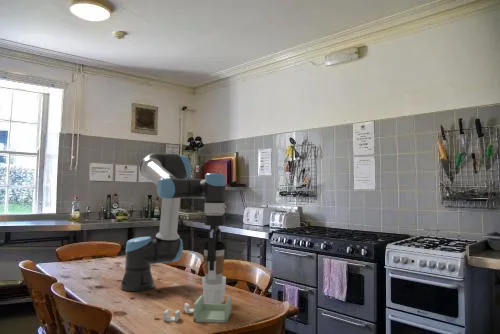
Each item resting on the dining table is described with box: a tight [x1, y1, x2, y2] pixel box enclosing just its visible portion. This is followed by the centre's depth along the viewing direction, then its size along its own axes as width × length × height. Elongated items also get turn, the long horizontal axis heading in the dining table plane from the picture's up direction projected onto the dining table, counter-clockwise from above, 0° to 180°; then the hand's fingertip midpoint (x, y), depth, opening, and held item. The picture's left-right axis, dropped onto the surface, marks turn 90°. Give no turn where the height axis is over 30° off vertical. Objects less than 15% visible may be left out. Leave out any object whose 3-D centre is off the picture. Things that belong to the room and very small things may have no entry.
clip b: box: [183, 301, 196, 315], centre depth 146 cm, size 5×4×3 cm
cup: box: [201, 275, 227, 304], centre depth 159 cm, size 10×10×10 cm
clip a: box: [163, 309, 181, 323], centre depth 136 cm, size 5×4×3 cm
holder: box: [192, 294, 233, 324], centre depth 140 cm, size 12×12×6 cm
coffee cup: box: [202, 240, 227, 285], centre depth 141 cm, size 8×8×15 cm
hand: (213, 276), depth 141 cm, fingers closed on coffee cup, 7 cm apart
